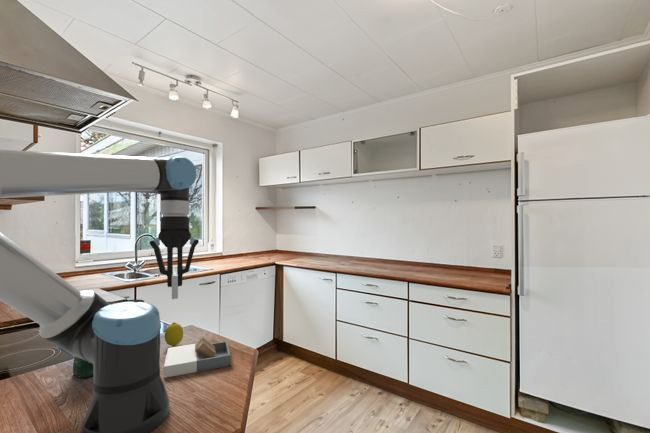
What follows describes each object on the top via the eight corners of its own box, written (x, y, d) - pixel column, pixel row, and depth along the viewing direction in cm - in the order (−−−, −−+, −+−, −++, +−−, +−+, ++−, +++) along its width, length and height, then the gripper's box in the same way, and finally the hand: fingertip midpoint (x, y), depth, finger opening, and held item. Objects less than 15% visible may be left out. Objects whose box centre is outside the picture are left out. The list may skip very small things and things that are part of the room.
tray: (230, 365, 87) (230, 355, 87) (197, 371, 83) (197, 360, 83) (227, 350, 97) (227, 341, 97) (197, 355, 93) (197, 345, 94)
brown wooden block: (207, 361, 88) (215, 353, 89) (194, 351, 87) (203, 342, 88) (207, 354, 93) (214, 346, 94) (195, 344, 92) (202, 336, 92)
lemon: (162, 346, 101) (162, 322, 101) (180, 342, 104) (180, 318, 104) (167, 351, 96) (167, 326, 97) (185, 346, 100) (185, 322, 100)
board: (196, 371, 83) (196, 360, 83) (163, 378, 80) (163, 366, 80) (196, 353, 95) (196, 343, 95) (168, 357, 92) (168, 347, 92)
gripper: (199, 216, 94) (199, 292, 93) (151, 216, 89) (150, 297, 88) (199, 215, 87) (199, 298, 86) (147, 215, 82) (146, 303, 81)
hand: (174, 297), depth 87 cm, fingers closed
